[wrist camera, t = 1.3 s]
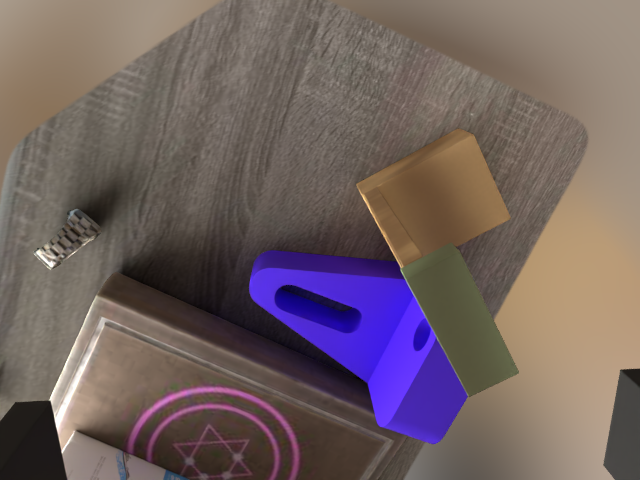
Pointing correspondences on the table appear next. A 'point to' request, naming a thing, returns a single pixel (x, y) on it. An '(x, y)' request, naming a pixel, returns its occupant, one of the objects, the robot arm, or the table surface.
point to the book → (212, 396)
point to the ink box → (107, 462)
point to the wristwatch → (68, 239)
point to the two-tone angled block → (445, 247)
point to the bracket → (367, 334)
